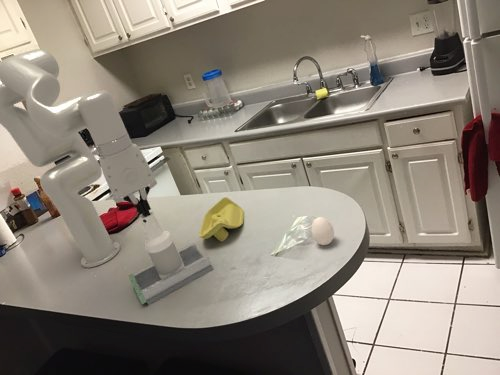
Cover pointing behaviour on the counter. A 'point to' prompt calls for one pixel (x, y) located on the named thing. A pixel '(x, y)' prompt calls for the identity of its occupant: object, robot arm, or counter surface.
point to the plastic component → (221, 219)
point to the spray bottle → (161, 247)
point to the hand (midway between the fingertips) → (146, 214)
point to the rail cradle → (170, 276)
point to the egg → (322, 231)
